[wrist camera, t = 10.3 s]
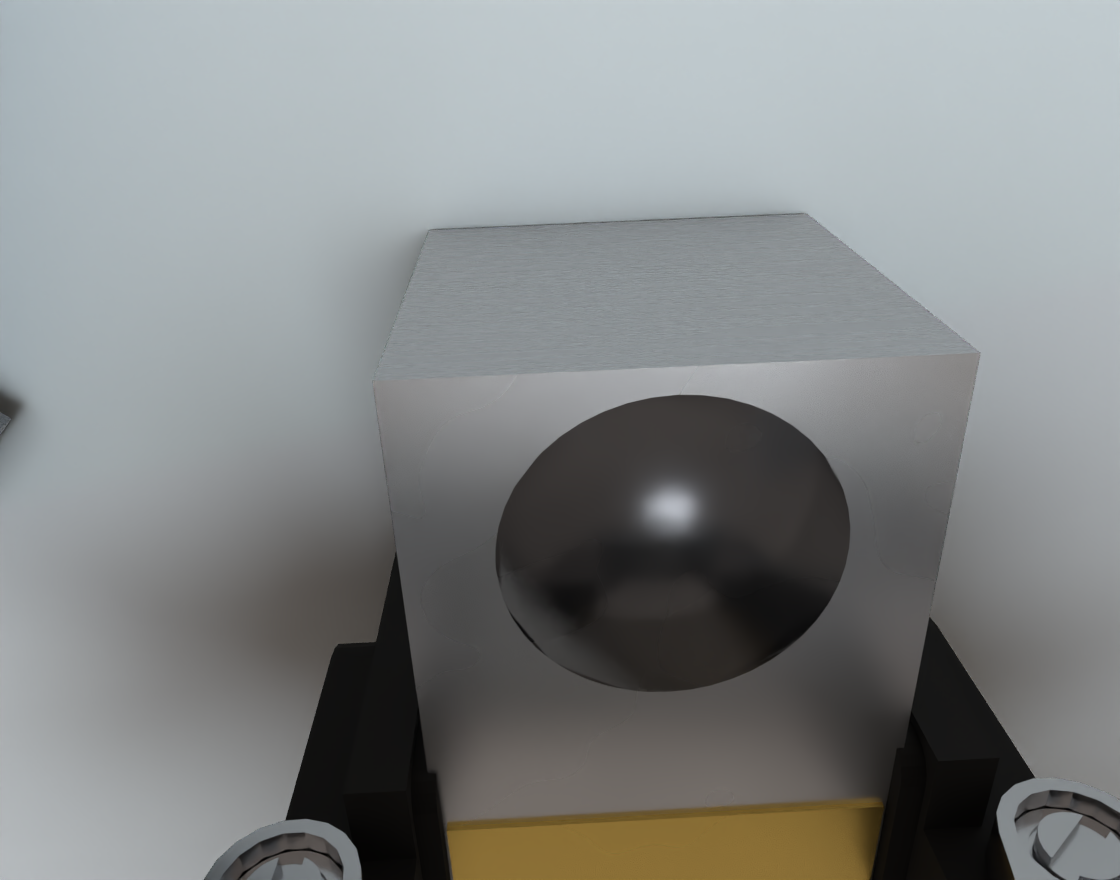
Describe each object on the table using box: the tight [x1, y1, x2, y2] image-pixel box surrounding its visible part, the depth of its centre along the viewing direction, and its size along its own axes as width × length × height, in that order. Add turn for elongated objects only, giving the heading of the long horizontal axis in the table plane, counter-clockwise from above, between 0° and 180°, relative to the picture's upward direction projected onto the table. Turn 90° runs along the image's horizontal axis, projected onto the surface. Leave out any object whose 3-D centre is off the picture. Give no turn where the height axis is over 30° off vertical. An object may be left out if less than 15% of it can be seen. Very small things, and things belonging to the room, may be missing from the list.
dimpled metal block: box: [373, 214, 980, 880], centre depth 10 cm, size 10×4×4 cm, turn 2°
